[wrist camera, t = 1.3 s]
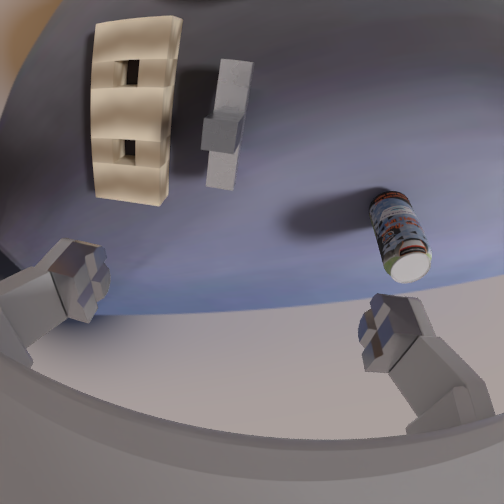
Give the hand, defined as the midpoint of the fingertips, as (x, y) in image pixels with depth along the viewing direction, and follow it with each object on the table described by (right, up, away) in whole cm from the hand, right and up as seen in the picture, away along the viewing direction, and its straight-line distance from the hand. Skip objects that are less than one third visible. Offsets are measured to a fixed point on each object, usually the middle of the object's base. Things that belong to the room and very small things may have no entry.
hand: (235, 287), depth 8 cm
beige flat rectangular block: (-14, +19, +23) cm, 33 cm away
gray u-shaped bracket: (-1, +17, +23) cm, 29 cm away
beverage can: (+19, +7, +29) cm, 35 cm away
